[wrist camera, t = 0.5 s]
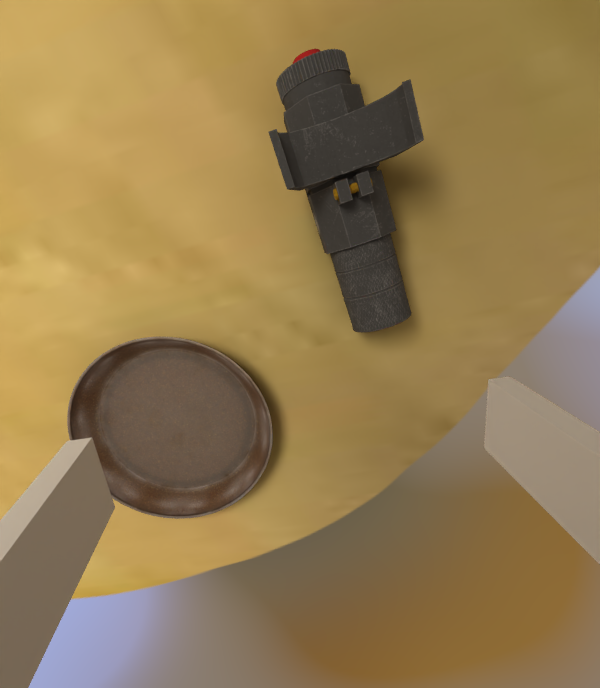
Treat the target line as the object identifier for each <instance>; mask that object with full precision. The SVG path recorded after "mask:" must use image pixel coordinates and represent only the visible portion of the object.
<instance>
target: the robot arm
mask: <svg viewBox="0 0 600 688" xmlns="http://www.w3.org/2000/svg"><path fill="white" fill-rule="evenodd" d="M485 426H486V427H485V439H484V449H485V450H486V451H487V452H488V453H489V454H490V455H491V456H492V457H493V458H494V459H495V460H496V461H497V462H498V463H499V464H500V465H501V466H502V467H503V468H504V469H505V470H506V471H507V472H508V473H509V474H510V475H511V476H512V477H513V478H514V479H515V480H516V481H517V482H518V483H519V484H520V485H521V486H522V487H523V488H524V489H525V490H526V491H527V492H528V493H529V494H530V495H531V496H532V497H533V498H534V499H535V500H536V501H537V502H538V503H539V504H540V505H541V506H542V507H543V508H544V509H545V510H546V511H547V512H548V513H549V514H550V515H551V516H552V517H553V518H554V519H555V520H556V521H557V522H558V523H559V524H560V525H561V526H562V527H563V528H564V529H565V530H566V531H567V532H568V533H569V534H570V535H571V536H572V537H573V538H574V539H575V540H576V541H577V542H578V543H579V544H580V545H581V546H582V547H583V548H584V549H585V550H586V551H587V552H588V553H589V554H590V555H591V556H592V557H593V558H594V559H595V560H596V561H597V562H598V563H599V564H600V432H599V431H597V430H596V429H594V428H592V427H591V426H589V425H587V424H586V423H584V422H583V421H581V420H579V419H578V418H576V417H575V416H573V415H571V414H570V413H568V412H567V411H565V410H563V409H562V408H560V407H559V406H557V405H555V404H554V403H552V402H551V401H549V400H547V399H546V398H544V397H542V396H541V395H539V394H538V393H536V392H534V391H533V390H531V389H530V388H528V387H526V386H525V385H523V384H522V383H520V382H518V381H517V380H515V379H514V378H512V377H510V376H508V377H500V378H494V379H488V395H487V410H486V424H485ZM114 508H115V506H114V503H113V500H112V497H111V494H110V491H109V488H108V485H107V481H106V478H105V475H104V472H103V469H102V466H101V463H100V460H99V457H98V454H97V451H96V448H95V445H94V442H93V439H92V437H91V438H85V439H78V440H71V441H67V442H66V443H65V444H64V445H63V446H62V448H61V449H60V450H59V451H58V452H57V454H56V455H55V456H54V457H53V458H52V460H51V461H50V462H49V463H48V464H47V466H46V467H45V468H44V469H43V470H42V471H41V473H40V474H39V475H38V476H37V477H36V479H35V480H34V481H33V482H32V483H31V485H30V486H29V487H28V488H27V489H26V491H25V492H24V493H23V494H22V495H21V497H20V498H19V499H18V500H17V501H16V502H15V504H14V505H13V506H12V507H11V508H10V510H9V511H8V512H7V513H6V514H5V516H4V517H3V518H2V519H1V520H0V688H28V687H29V685H30V683H31V680H32V679H33V676H34V674H35V672H36V670H37V668H38V666H39V664H40V662H41V660H42V658H43V656H44V654H45V652H46V649H47V647H48V645H49V643H50V641H51V639H52V637H53V635H54V633H55V630H56V628H57V626H58V624H59V622H60V620H61V618H62V616H63V614H64V612H65V610H66V608H67V606H68V604H69V602H70V600H71V598H72V595H73V593H74V591H75V589H76V587H77V585H78V583H79V581H80V579H81V577H82V575H83V573H84V571H85V568H86V566H87V564H88V562H89V560H90V558H91V556H92V554H93V552H94V550H95V548H96V546H97V544H98V541H99V539H100V537H101V535H102V533H103V531H104V529H105V527H106V525H107V523H108V521H109V519H110V517H111V515H112V512H113V510H114Z"/></svg>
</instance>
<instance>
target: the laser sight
mask: <svg viewBox="0 0 600 688" xmlns="http://www.w3.org/2000/svg"><path fill="white" fill-rule="evenodd" d="M276 85H277V88H278V92H279V95H280V98H281V101H282V104H283V105H284V106H285V110H286V111H285V112H284V123H285V126H286V129H287V132H288V133H278V132H277V129H275V130H273V131H270V132H269V135H270V138H271V141H272V144H273V147H274V150H275V153H276V156H277V159H278V163H279V166H280V169H281V172H282V175H283V178H284V181H285V184H286V187H287V189H289V190H299V191H300V190H303V189H305V190H306V193H307V197H308V200H309V203H310V206H311V210H312V213H313V216H314V219H315V222H316V226H317V229H318V232H319V235H320V239H321V242H322V245H323V248H324V251H325V253H327V254H329V253H330V255H331V258H332V261H333V264H334V268H335V272H336V275H337V278H338V281H339V284H340V287H341V291H342V295H343V297H344V301H345V304H346V307H347V310H348V313H349V317H350V320H351V323H352V326H353V330H354V331H356V332H371V331H377V330H381V329H385V328H388V327H391V326H394V325H396V324H399V323H401V322H403V321H404V320H406V319H407V318H409V317H410V316H411V310H410V307H409V303H408V299H407V296H406V292H405V288H404V283H403V280H402V276H401V272H400V269H399V265H398V261H397V256H396V254H395V249H394V246H393V242H392V238H391V234H390V233H391V232H393V231H395V230H396V226H395V223H394V219H393V215H392V211H391V207H390V203H389V199H388V195H387V191H386V187H385V183H384V180H383V176H382V172H381V170H379V171H377V168H376V167H377V166H379V165H380V164H379V162H380V161H383V160H386V159H389V158H392V157H394V156H397V155H398V154H400V153H402V152H404V151H405V150H407V149H409V148H411V147H412V146H414V145H416V144H418V143H420V142H421V141H423V140H424V138H423V134H422V129H421V125H420V120H419V116H418V111H417V107H416V102H415V98H414V93H413V89H412V84H411V80H407V81H404V82H402V85H401V86H399V87H398V88H397V89H396V90H394V91H392V92H391V93H389V94H388V95H386V96H384V97H383V98H381V99H379V100H377V101H375V102H373V103H371V104H369V105H367V106H365V105H364V101H363V98H362V94H361V90H360V86H359V84H351V80H350V70H349V66H348V62H347V58H346V54H345V52H343V51H342V50H340V49H339V50H338V49H336V50H335V49H330V50H329V49H328V50H324V51H320V50H319V49H311V50H308V51H306V52H304V53H302V54H300V55H299V56H298V57H296V58H295V60H294V62H293V64H292V65H291V66H290V67H288V68H287V69H285V71H283V73H282V74H281V75H280V76H279V78H278V80H277V82H276Z"/></svg>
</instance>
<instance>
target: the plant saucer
mask: <svg viewBox="0 0 600 688" xmlns="http://www.w3.org/2000/svg"><path fill="white" fill-rule="evenodd" d="M67 422H68V432H69V438H70V441H71V440H78V439H85V438H91V437H92V439H93V442H94V445H95V448H96V451H97V454H98V457H99V460H100V463H101V466H102V469H103V472H104V475H105V478H106V481H107V485H108V488H109V491H110V494H111V497H112V498H113V499H114V500H116V501H118V502H119V503H121V504H123V505H125V506H128V507H130V508H132V509H134V510H136V511H139V512H142V513H145V514H149V515H153V516H158V517H163V518H176V519H179V518H194V517H200V516H204V515H208V514H212V513H215V512H217V511H220V510H222V509H224V508H226V507H228V506H230V505H232V504H234V503H235V502H237V501H238V500H239V499H241V498H242V497H243V496H245V495H246V494H247V493H248V492H249V491H250V490H251V489H252V488H253V487H254V485H255V484H256V483H257V481H258V480H259V479H260V477H261V475H262V474H263V472H264V470H265V468H266V466H267V463H268V460H269V457H270V454H271V449H272V440H273V431H272V422H271V417H270V413H269V409H268V406H267V404H266V402H265V399H264V397H263V395H262V393H261V392H260V390H259V388H258V387H257V385H256V384H255V383H254V381H253V380H252V379H251V377H250V376H249V375H248V374H247V373H246V372H245V371H244V370H243V369H242V368H241V367H240V366H239V365H238V364H236V363H235V362H234V361H232V360H231V359H230V358H228V357H227V356H225V355H224V354H222V353H220V352H219V351H217V350H215V349H213V348H211V347H208V346H206V345H203V344H201V343H198V342H195V341H191V340H187V339H182V338H175V337H148V338H141V339H136V340H132V341H128V342H125V343H123V344H120V345H118V346H115V347H114V348H112V349H110V350H108V351H106V352H105V353H103V354H102V355H100V356H99V357H98V358H97V359H95V360H94V361H93V362H92V363H91V364H90V365H89V366H88V367H87V369H86V370H85V371H84V372H83V374H82V375H81V376H80V378H79V380H78V381H77V383H76V385H75V387H74V389H73V392H72V395H71V398H70V402H69V407H68V420H67Z"/></svg>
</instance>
